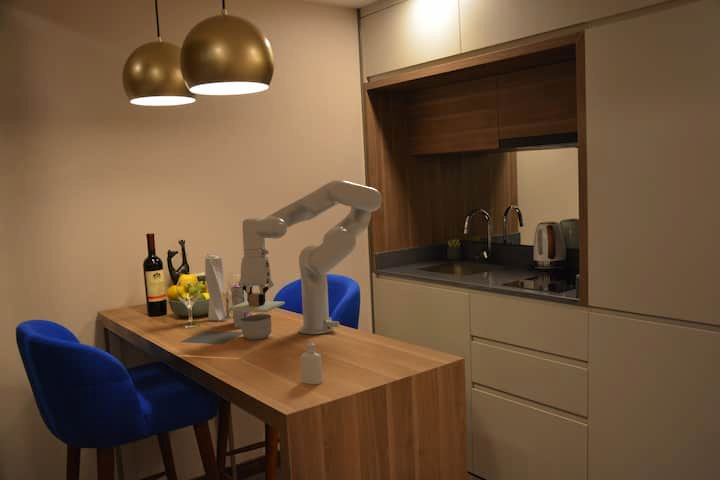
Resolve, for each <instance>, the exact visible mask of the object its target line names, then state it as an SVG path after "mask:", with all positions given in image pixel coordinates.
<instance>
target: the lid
mask: <svg viewBox="0 0 720 480" xmlns="http://www.w3.org/2000/svg"><path fill="white" fill-rule="evenodd" d="M252 293H253V294H250V295H249V303H248V301H245V302H243V303H240V304H238V305H235V306H233V305H231V306H230V308H227V309H228V311H230V312H233V311H248V312H251V313H252V312H253V313H256V312H257V313H268V312H271V311H272V310H275V309H277V308H279V307H282V306H283V305H285V303H286V302H285V301H276V300H275V301H273V300H265V304H264V305H261V306H260V305H259V294H260V292H252Z"/></svg>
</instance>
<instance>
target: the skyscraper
mask: <svg viewBox="0 0 720 480" xmlns="http://www.w3.org/2000/svg"><path fill="white" fill-rule="evenodd" d="M204 269H205V270H204V273H205V274H204V275H205V284H206V289H207V292H208V296H209V297H208V298H209V300H208V316H207V317H208V318H207V320H208V322H226V321H228V320H230V319H232V318H233V316H232V314H231V311H228V309H227V308H230V307H231V306H230V305H231V304H230V302H231V301H230V299H231V298H230V297H229V290H228V287H226V298H225V302H226V309H225V304H224V298H223V290H224V289H223V288H224V282H225V281H224V280H225V277H224V275H225V274H224V265H223V258H222V256H221V255H220V254H219V253H217V252H209V253H206V256H205V262H204ZM225 310H226V311H225Z"/></svg>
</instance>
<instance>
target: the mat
mask: <svg viewBox="0 0 720 480" xmlns="http://www.w3.org/2000/svg"><path fill="white" fill-rule="evenodd" d="M242 335H243V333H242V331H225V330H223V331H221V330H220V331H219V330H204V331H202V332H201V331H200V332H199V333H196V334H195V335H192V336H190V337H188V338H185V339H183V340H181V341H180V343H192V344H210V345H212V344H213V345H214V344H215V345H216V344H217V345H224V344H226V343H228V342H229V341H232V340H233V339H236V338H238V337H240V336H242Z"/></svg>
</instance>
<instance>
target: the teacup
mask: <svg viewBox="0 0 720 480" xmlns="http://www.w3.org/2000/svg"><path fill="white" fill-rule="evenodd" d="M240 321H241V327H242V328H241V332H242V333H243V334H242V335H243V337H244V338H246V339H247V340H250V341H256V340H257V341H258V340H265V339H267V338H268V337H269V336H270V335H271V333H272V330H273V329H272V315H270V314H267V313H260V314H251V315H250V316H246V317H243V318H241V319H240Z"/></svg>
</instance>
